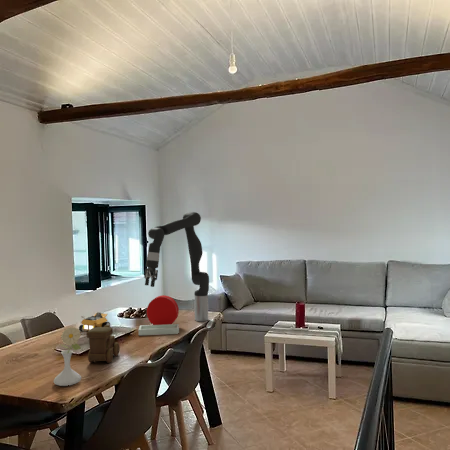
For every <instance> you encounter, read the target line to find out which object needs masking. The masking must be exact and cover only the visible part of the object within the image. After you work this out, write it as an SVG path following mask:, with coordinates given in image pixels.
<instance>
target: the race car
mask: <svg viewBox="0 0 450 450" xmlns="http://www.w3.org/2000/svg"><path fill="white" fill-rule="evenodd" d="M107 316H108V313H101V312H98V311H97V312H96V313H95V314H94V315H92V316H88V317H87V318H85V316H84V315H81V316H80V318H81V319H82V321H80V325H79V327H78V329H79V330H80V331H79V332H85V331H89V330H90V329H92V328H96V327H104V326H105V325H110V326H111V322H110V321H108V319H107V318H106V317H107Z"/></svg>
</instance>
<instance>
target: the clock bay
mask: <svg viewBox="0 0 450 450" xmlns="http://www.w3.org/2000/svg"><path fill="white" fill-rule="evenodd" d="M178 333H179V334H180V324H179V323H173V324H165V325H153V324H149V325H148V324H147V325H146V324H145V325H144V324H143V325H139V326H138V336H155V335H157V336H158V335H176V334H177V335H179V334H178Z"/></svg>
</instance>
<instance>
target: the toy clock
mask: <svg viewBox="0 0 450 450" xmlns="http://www.w3.org/2000/svg"><path fill="white" fill-rule="evenodd" d="M179 310H180V309H179V305H178V303H177V301H175V299H174V298H173V297H171V296H169V295H165V294H164V295H163V294H162V295H158V296H156V297H155V298H153V299H152V300H151V301H149V303H148V305H147V306H146V316H147V319H148V321H149V322H150V324H151V325H165V324H174V323H175V322H176V320H177V318H178V317H179V312H180V311H179Z"/></svg>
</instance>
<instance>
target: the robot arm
mask: <svg viewBox="0 0 450 450" xmlns="http://www.w3.org/2000/svg"><path fill="white" fill-rule="evenodd" d="M201 220H202V217H201V214H200V213H198V212H195V211H186V212H185V213H184V214H183V217H182V218H181V219H177V220H173V221H170V222H167V223H165V224H162V225H158V226H155V227H152V228H150V229H149V230H148V233H147V234H148V237H149V239H152V240H153V241H152V242H150V243H149V245H148V251H147V256H146V263H145V269H144V276H143V278H144V279H145V281H144V286H149V283H150V287H151V288H153V287H155V283H156V281H157V280H158V273H159V270H158V268H159V265H160V264H159V263H160V253H161V252H160V251H161V246H162V244H163V241H164V238H165V236H168V235H171V234H173V233H175V232H178V231H181V230H183V229H184V231H185V235H186V241H187V249H188V254H189V260H190V262H189V263H190V271H191V281H192V284H193V285H195V286H196V285H197V286H199V288H198V289H196V290H194V321H195V320H196V322H207V321H208V320H209V296H208V295H209V292H210V291H209V289H210V276H209V274H208V272H206V271H205V272H204V271H201V270H200V263H201V262H200V261H201V259H202V256H203V247H202V241H201V240H200V238H199V237H198V235H197V233H196V231H195V227H196V226H198V225H199V224H200V223H201ZM194 226H195V227H194ZM150 279H151V281H150Z"/></svg>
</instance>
